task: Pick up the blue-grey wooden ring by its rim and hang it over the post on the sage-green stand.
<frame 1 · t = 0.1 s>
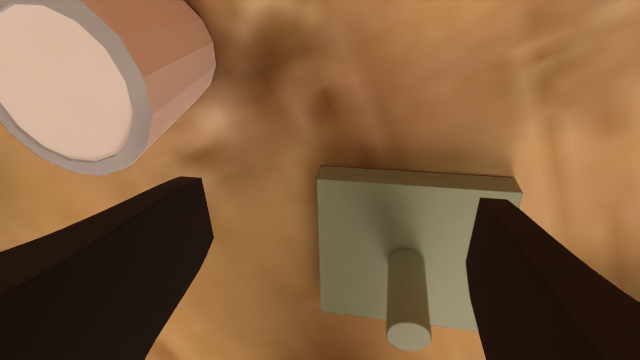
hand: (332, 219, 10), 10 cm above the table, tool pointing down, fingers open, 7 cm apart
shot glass: (165, 50, 19), on the table
post: (405, 244, 22), on the table
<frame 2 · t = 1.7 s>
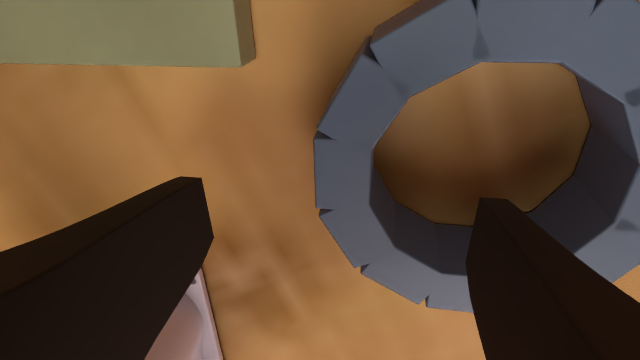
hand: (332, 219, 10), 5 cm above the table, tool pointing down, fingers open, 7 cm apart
ring: (473, 145, 14), on the table
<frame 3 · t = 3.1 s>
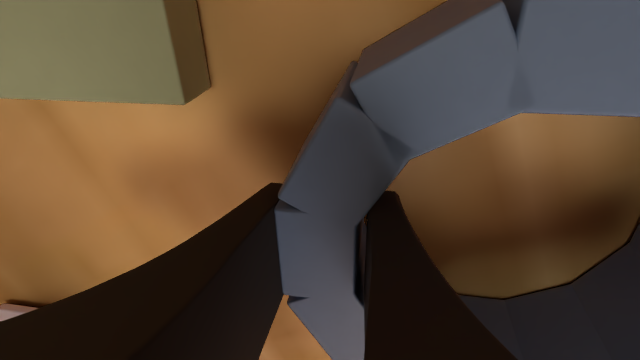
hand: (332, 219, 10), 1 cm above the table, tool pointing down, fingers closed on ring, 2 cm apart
ring: (495, 202, 10), on the table, touching gripper
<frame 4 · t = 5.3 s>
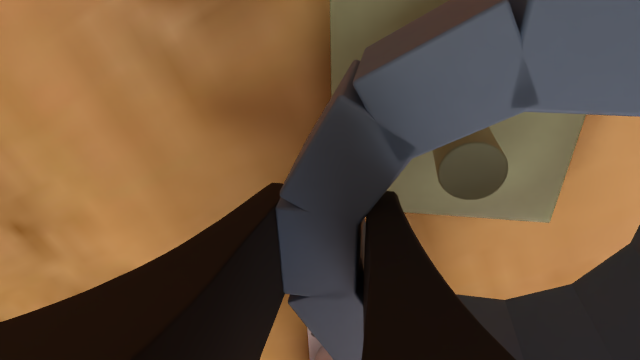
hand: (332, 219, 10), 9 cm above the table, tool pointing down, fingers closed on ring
ring: (496, 202, 10), point 8 cm above the table, touching gripper
post: (447, 103, 17), on the table
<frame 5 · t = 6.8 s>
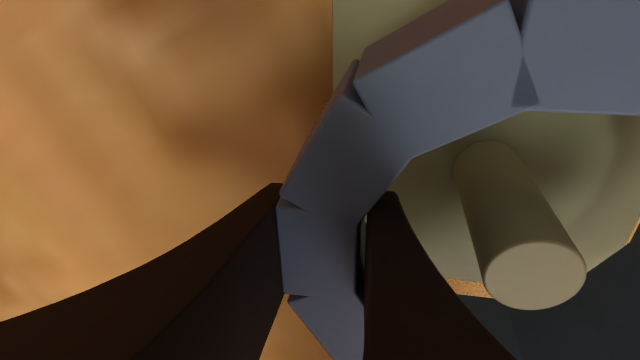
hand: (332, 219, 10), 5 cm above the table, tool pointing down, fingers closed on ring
ring: (496, 202, 10), point 4 cm above the table, touching gripper
post: (477, 148, 13), on the table
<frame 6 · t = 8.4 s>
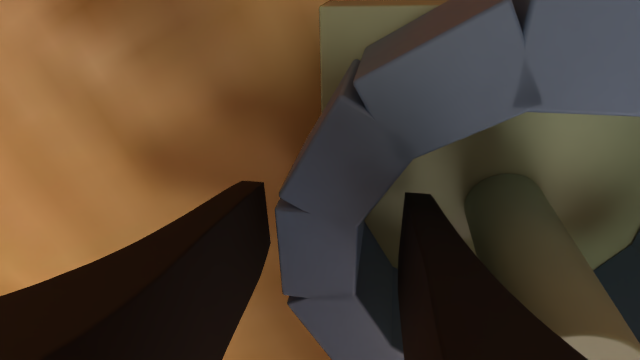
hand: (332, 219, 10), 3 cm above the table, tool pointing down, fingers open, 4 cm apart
ring: (497, 203, 10), point 1 cm above the table, touching post
post: (490, 177, 12), on the table
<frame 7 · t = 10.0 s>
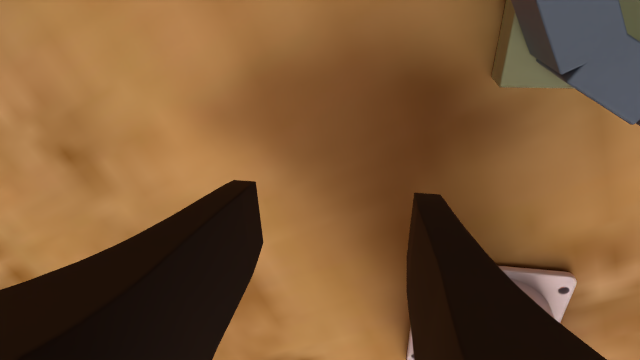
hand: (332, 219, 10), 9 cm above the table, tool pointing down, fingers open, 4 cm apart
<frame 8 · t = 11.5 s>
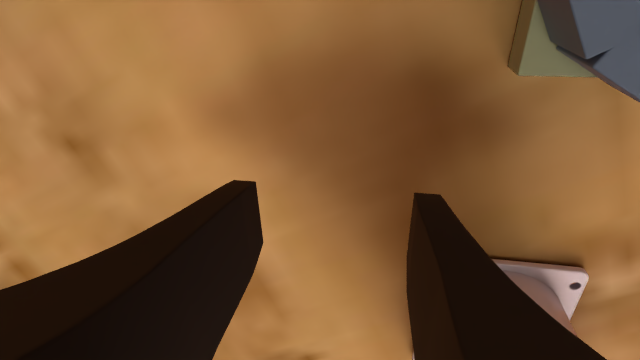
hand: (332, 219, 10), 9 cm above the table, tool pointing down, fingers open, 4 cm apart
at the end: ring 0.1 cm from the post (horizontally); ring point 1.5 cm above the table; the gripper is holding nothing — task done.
